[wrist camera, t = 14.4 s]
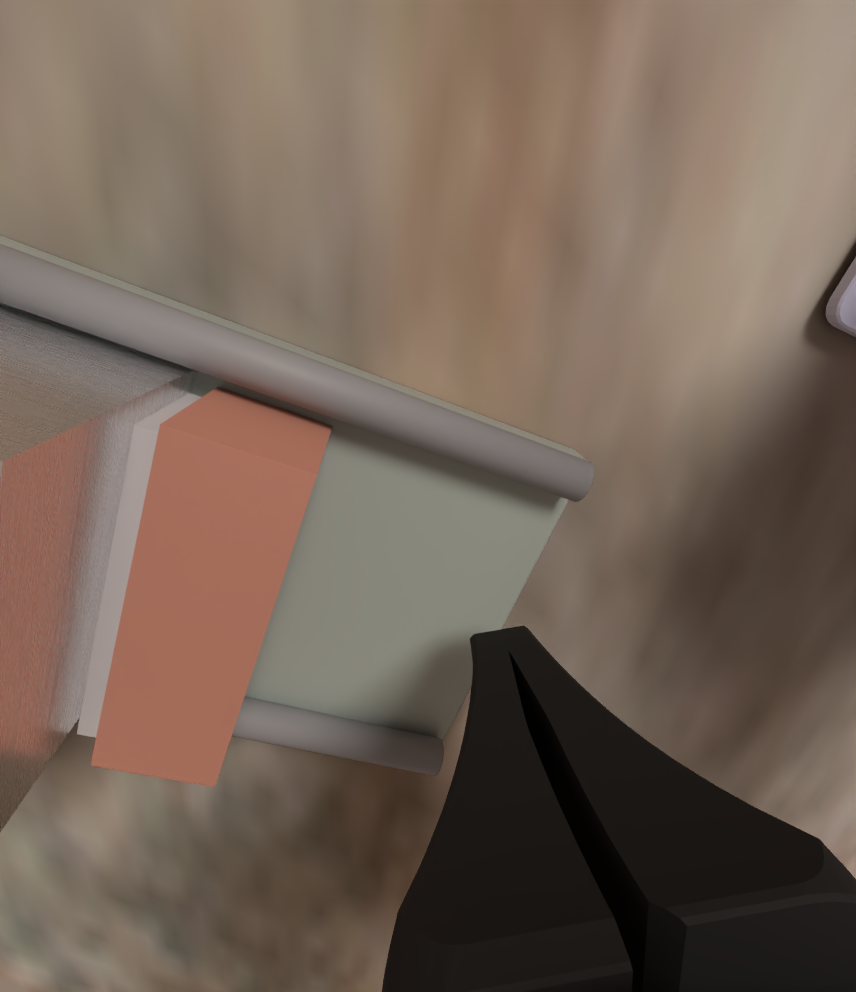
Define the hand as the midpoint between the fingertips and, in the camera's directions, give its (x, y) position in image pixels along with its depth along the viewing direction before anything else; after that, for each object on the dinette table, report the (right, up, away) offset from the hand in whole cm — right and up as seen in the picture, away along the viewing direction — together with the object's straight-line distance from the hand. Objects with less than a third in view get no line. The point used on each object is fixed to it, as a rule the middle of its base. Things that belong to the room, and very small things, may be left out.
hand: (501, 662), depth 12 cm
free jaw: (-7, +3, 0) cm, 7 cm away
